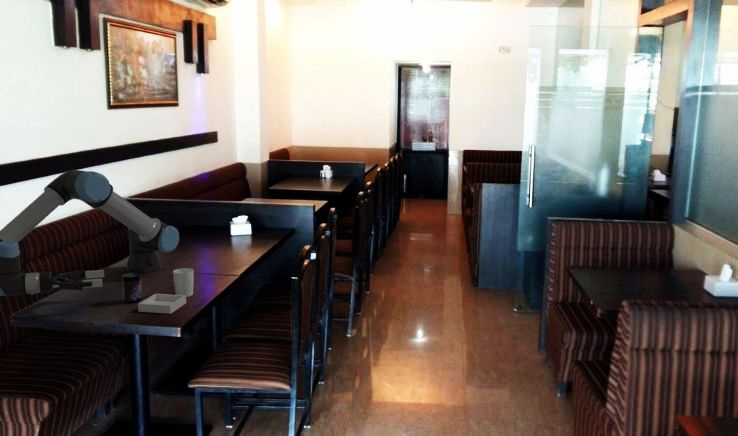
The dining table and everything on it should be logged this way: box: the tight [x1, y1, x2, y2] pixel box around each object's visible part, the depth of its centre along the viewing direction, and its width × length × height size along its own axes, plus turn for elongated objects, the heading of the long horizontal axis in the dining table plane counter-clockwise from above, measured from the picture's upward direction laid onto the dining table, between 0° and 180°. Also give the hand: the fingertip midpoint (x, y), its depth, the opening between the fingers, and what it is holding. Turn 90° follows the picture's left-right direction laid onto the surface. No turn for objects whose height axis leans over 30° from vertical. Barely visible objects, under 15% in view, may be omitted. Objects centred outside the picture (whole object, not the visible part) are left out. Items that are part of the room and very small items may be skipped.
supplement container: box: [121, 272, 143, 304], centre depth 239 cm, size 7×7×10 cm
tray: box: [137, 293, 187, 314], centre depth 233 cm, size 13×13×3 cm
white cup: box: [172, 267, 195, 298], centre depth 247 cm, size 8×8×10 cm
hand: (103, 277), depth 235 cm, fingers open, 13 cm apart
